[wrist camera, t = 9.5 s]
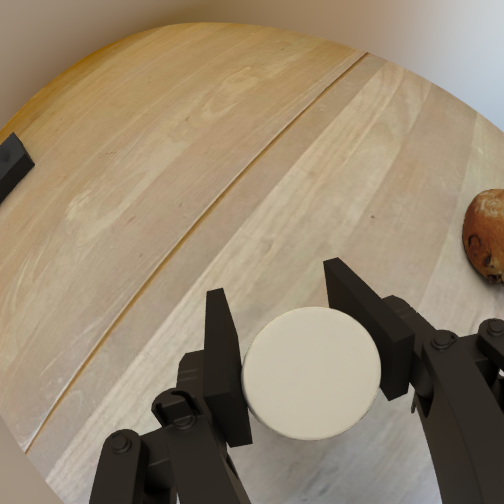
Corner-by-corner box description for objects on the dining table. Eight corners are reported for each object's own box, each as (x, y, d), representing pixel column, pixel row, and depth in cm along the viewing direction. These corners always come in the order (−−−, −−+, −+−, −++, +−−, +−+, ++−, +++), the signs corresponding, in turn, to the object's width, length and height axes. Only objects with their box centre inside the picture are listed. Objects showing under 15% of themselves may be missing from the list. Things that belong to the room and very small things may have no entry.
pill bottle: (329, 329, 16) (373, 277, 9) (346, 408, 14) (409, 426, 7) (246, 346, 16) (218, 309, 9) (261, 427, 14) (246, 468, 7)
